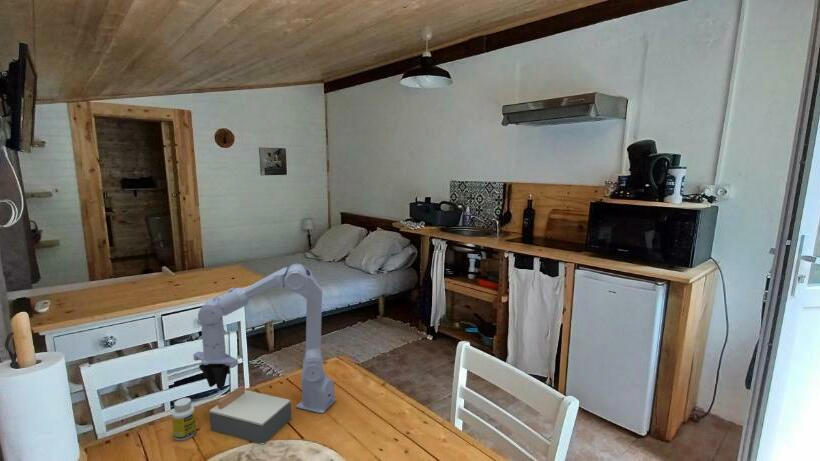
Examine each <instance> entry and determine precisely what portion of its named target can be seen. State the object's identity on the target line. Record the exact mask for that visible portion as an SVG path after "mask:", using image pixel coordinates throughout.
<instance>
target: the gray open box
mask: <svg viewBox="0 0 820 461" xmlns="http://www.w3.org/2000/svg"><path fill="white" fill-rule="evenodd" d="M291 404H292V403H291V402H290V403H289V404H288V405H286V406H285V407H284V408H283V409H282V410H280V411H279V412H278V413H277V414H276V415H275V416H273V417H272V418H271V419H270V420H269V421H268V422H266V423H265V424H264V425H263V426H260V425H256V424H252V423H248V422H245V421H241V420H237V419H233V418H229V417H225V416H221V415H217V414H214V413H210V412H209V422H210V430H211V431H213V432H217V433H219V434H220V433H221V434H224V435H229V436H231V437H235V438H238V439H242V440H246V441H248V442H254V443H256V444H260V443H264V442H266V443H267V442H268V441H269V440H271V438H272V437H273V436H275V434H276V433H277V432H278V431H281V429H282V428H283V427H285V425H287V423H288V422H290V421H291V420H292V407H291V406H292V405H291ZM264 444H265V443H264Z"/></svg>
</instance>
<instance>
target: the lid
mask: <svg viewBox="0 0 820 461" xmlns="http://www.w3.org/2000/svg"><path fill="white" fill-rule="evenodd" d="M289 403H291V399H288V398H283V397H278V396H274V395H268V394H266V393H261V392H256V391H252V390H246V389H245V385H240V386H239V387H237V388H236V389H235V388H234V390H232V391H231V392H229V393H227V395H225V396H224V397H222V398H220V399H219V400H217V405H215V406H214V407H212V408H211V409H209V414H210V413H214V414H217V415H221V416H225V417H229V418H233V419H237V420H241V421H245V422H248V423H252V424H256V425H260V426H263V425H264V424H265V423H266V422H268V421H269V420H270V419H271V418H272V417H273V416H275V415H276V414H277V413H278V412H279V411H280V410H282V409H283V408H284V407H285V406H286V405H288V404H289Z"/></svg>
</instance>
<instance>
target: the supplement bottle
mask: <svg viewBox="0 0 820 461" xmlns="http://www.w3.org/2000/svg"><path fill="white" fill-rule="evenodd" d="M173 406H174V408H173V409H174V410H173V411H172V413H171V419H172V431H173V433H172V434H173V439H174V440H175V441H187V440H188V439H191V438H192V437H193V436H194V435H195V434H196V432H197V428H196V427H197V425H196V413H195V412H196V411H195V407H194V406H193V405H192V399H191V398H190V397H182V398H178V400H176V401H174V403H173Z"/></svg>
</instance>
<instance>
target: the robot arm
mask: <svg viewBox="0 0 820 461" xmlns="http://www.w3.org/2000/svg"><path fill="white" fill-rule="evenodd" d="M276 288H277V289H280V290H285V288H286V289H287V290H289V291H291V292H293V293H296V294H299V295H300V296H302V298H304V299H306V313H305V314H306V317H305V319H306V320H305V321H306V326H305V336H306V337H305V353H304V354H303V355H304V356H303V358H302V370H301V376H300V377H301V379H300V380H301V381H300V382H301V399H302V400H301V401H300V402H299V403H298V404H297V405H296V409H301V410H305V411H309V412H314V413H318V414H324V413H325V412H326V411H327V410H328V409H329V408H330V407H331V406H332V405H333V404H334V403H335V402H336V401H337V398H335V382H334V380H333V379H331V378H329V377H328V376H327V375H326V371H325V369H324V355H323V353H322V351H321V350H322V349H321V348H322V315H323V314H322V313H323V312H322V310H323V309H322V306H323V299H322V298H323V290H322V288H321V286H320V283H318V281H317V280H316V278H315V277H314V275H313V274H312V271H311V270H310V269H309V268H307V267H306V266H305V265H303V264H301V263H293V264H291V265H290V266H285V267H283V268H281V269H279V270H276V271H275V272H273V273H271V274H269V275H267V276H266V277H264V278H262V279H260V280H258V281H256V282H255V283H252V284H251V285H249V286H247V287H245V288H242V287H235V288H234V287H231V288H228V290H227V291H228V292H226V293H224V294H221V295H220V296H214V297H213V298H212V299H209V300H208V301H206V302H205V303H204V304H203V305H202V307H201V308H200V309H199V311H198V313H197V318H198V320H199V322H200V323H201V336H202V337H201V338H202V340H201V341H202V350H203V351H196V352H195V353H193V361H201V364H199V366H198V368H199V369H200V371H201V372H202V373H203V375H204V377H205V379H206V381H207V384H208V386H209V388H212V387H215V385H216V388H217V389H218V390H220V389H222V388H223V387H225V385H226V380H227V376H228V374H229V371H230V369H234V368H235V367H237V366H238V358H235V357H233V356H231V355H229V354H228V353H226V341H225V340H226V339H225V326H224V319H223V318H224V317H225V316H226V317H227V316H228V315H230V314H232V313H234V312H235V311H238V310H240V309H242V308H244V307H245V306H247V305H248V303H249V300H250V299H253V298H254V297H257V296H258V295H261V294H263V293H265V292H267V291H270V290H272V289H276Z"/></svg>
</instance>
